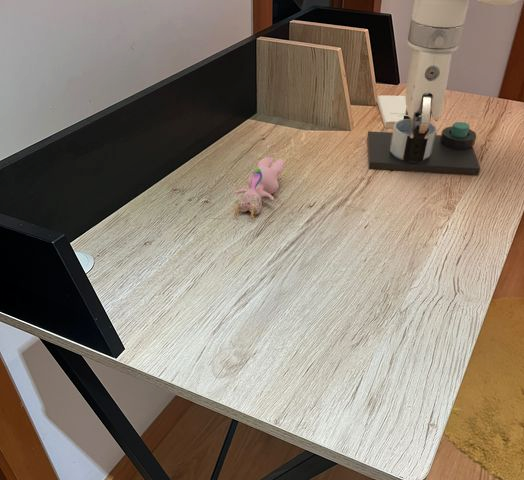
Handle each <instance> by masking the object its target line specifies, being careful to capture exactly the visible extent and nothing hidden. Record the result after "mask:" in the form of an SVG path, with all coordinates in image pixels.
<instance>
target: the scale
mask: <svg viewBox="0 0 524 480" xmlns="http://www.w3.org/2000/svg"><path fill="white" fill-rule="evenodd" d="M452 127H453V125H452V126H447V127H445V128H444V129H442V131H441V133H440V134H436V136H435V140H434V144H433V149H432V153H431V155H430V156H429V157H427V158H426V159H424V160H423V161H421V162H417V161H405V160H401V159H399V158H397V157H395V156H394V155H393V153H392V152H391V151H390V143H391V138H392V132H391V131H390V132H388V131H373V130H372V131H371V130H368V131H367V134H366V135H367V136H366V146H367V158H368V159H367V162H368V170H373V171H374V170H375V171H390V172H391V171H392V172H407V173H408V172H409V173H424V174H426V173H427V174H442V175H443V174H444V175H458V176H472V177H473V176H476V177H478V176H479V174H480V171H481V166H480V164H479V160H478V157H477V154H476V152H475V149H474V145H475V144H476V141H477V133H476V132H475V131H474V130H472V129H470V128H469V131H468V135H467V137H464V138H461V137H455V136H452V135H451V131H452Z"/></svg>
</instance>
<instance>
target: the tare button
mask: <svg viewBox="0 0 524 480" xmlns="http://www.w3.org/2000/svg"><path fill="white" fill-rule="evenodd" d="M452 126H453V127H452ZM452 126H451V127H452V131H451V135H452V136H455V137H461V138H464V137H467V135H468V131H469V129H470V126H471V125H470V124H469V123H466V122H463V121H457V122H453V123H452Z"/></svg>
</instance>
